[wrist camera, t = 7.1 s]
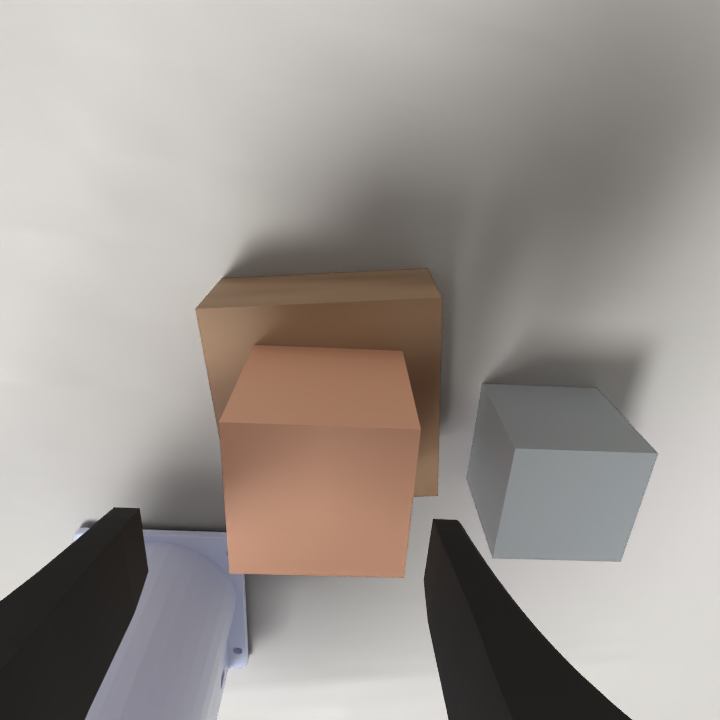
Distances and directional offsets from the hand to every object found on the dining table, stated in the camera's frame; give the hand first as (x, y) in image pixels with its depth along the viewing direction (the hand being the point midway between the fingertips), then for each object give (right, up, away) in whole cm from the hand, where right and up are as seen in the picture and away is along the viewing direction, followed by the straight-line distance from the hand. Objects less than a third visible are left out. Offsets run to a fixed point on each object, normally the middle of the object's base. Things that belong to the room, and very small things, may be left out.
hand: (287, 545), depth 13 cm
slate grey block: (+9, +1, +11) cm, 14 cm away
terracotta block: (+1, +3, +6) cm, 6 cm away
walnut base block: (+1, +4, +9) cm, 10 cm away
